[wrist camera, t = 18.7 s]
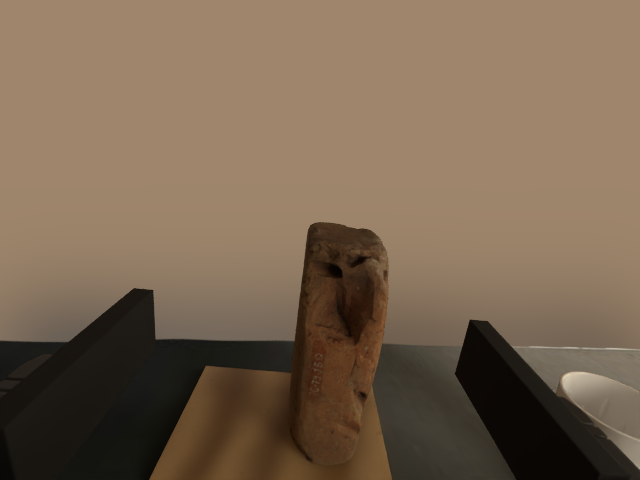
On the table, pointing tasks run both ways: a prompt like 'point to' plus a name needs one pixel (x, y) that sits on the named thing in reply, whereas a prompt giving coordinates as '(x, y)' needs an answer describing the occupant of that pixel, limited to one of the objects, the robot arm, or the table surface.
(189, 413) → the cork mat
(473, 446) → the table surface
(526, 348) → the table surface
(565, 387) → the white cup
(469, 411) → the table surface
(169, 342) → the table surface
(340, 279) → the block
